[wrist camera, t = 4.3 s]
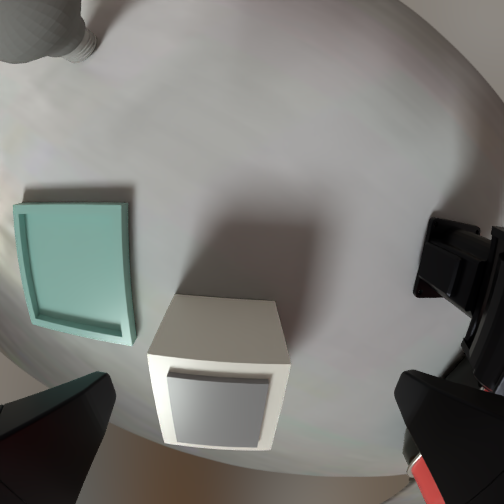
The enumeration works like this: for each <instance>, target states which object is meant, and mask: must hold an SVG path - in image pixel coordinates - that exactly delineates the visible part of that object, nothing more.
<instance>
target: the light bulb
mask: <svg viewBox="0 0 504 504" xmlns="http://www.w3.org/2000/svg"><path fill="white" fill-rule="evenodd" d="M96 41H97V40H96V36H95V35H94V34H92V33H91V32H90V31H89V30H87V28H86V27H85V22H84V20H83V18H82V17H81V0H0V61H3V62H6V63H12V64H19V63H27V62H30V61H33V60H36V59H39V58H42V57H45V56H50V57H63V58H65V59H67V60H69V61H70V62H72V63H79V62H82V61H83V60H85V59H86V58H88V57H89V56H90V54H91V53H92V52H93V50H94V48H95V46H96Z"/></svg>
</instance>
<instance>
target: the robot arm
mask: <svg viewBox="0 0 504 504" xmlns="http://www.w3.org/2000/svg"><path fill="white" fill-rule="evenodd" d="M434 223H435V226H434ZM491 235H492V239H491V240H490V239H487V238H485V237H482V236H480V228H479V227H477V226H473V225H469V224H464V223H460V222H455V221H450V220H445V219H440V218H435V217H433V218H431V219H430V220H429V224H428V229H427V235H426V240H425V245H424V249H423V254H422V258H421V263H420V267H419V271H418V275H417V279H416V282H415V286H414V290H413V294H414V295H415V296H416V297H417V298H440V297H444V298H445V299H447V300H448V301H449V302H451V303H452V304H453V305H454V306H456V307H457V308H458V309H460V310H461V311H462V312H464V313H465V314H466V315H467V316H469V317H470V318H471V322H470V325H469V328H468V331H467V333H466V336H465V338H463V341H462V343H461V346H462V348H463V350H464V352H465V354H466V356H467V358H468V360H469V362H470V364H471V366H472V368H473V374H474V376H475V378H476V379H477V380H478V381H479V383H480V384H481V385H482V387H483V388H485V389H486V390H487V391H489V392H487V391H484V390H480V389H476V388H473V387H469V386H466V385H462V384H459V383H455V382H452V381H449V380H445V379H442V378H439V377H436V376H432V375H429V374H426V373H423V372H420V371H417V370H408V371H404V372H403V373H402V374H401V376H400V378H399V381H398V383H397V385H396V388H395V391H394V396H395V399H396V402H397V404H398V407H399V409H400V411H401V414H402V417H403V419H404V422H405V424H406V426H407V429H408V431H409V433H410V435H411V436H412V438H413V440H414V442H415V444H416V446H417V448H418V450H419V452H420V453H421V455H422V457H423V459H424V461H425V463H426V465H427V467H428V469H429V471H430V473H431V475H432V477H433V479H434V481H435V483H436V485H437V487H438V489H439V491H440V493H441V495H442V498H443V500H444V502H445V504H504V227H498V226H492V231H491ZM419 290H420V291H419ZM418 291H419V292H418ZM115 400H116V392H115V389H114V386H113V384H112V381H111V378H110V375H109V374H108V373H104V372H99V371H96V372H93V373H91V374H88V375H86V376H83V377H80V378H78V379H75V380H73V381H70V382H67V383H64V384H62V385H59V386H56V387H54V388H51V389H48V390H45V391H43V392H39V393H37V394H34V395H31V396H28V397H25V398H22V399H19V400H16V401H13V402H10V403H7V404H5V405H0V504H75V503H76V501H77V498H78V496H79V493H80V491H81V488H82V486H83V483H84V481H85V479H86V476H87V474H88V471H89V469H90V467H91V464H92V462H93V460H94V457H95V455H96V453H97V451H98V448H99V446H100V444H101V442H102V439H103V437H104V435H105V432H106V429H107V425H108V422H109V419H110V416H111V413H112V410H113V406H114V403H115Z"/></svg>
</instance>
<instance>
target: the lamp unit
mask: <svg viewBox="0 0 504 504" xmlns="http://www.w3.org/2000/svg"><path fill="white" fill-rule="evenodd" d="M147 357H148V364H149V370H150V376H151V382H152V388H153V393H154V398H155V403H156V408H157V413H158V418H159V422H160V426H161V431H162V435H163V439H164V443H168V444H175V445H182V446H190V447H200V448H211V449H226V450H271V446H272V442H273V439H274V435H275V431H276V427H277V423H278V419H279V415H280V411H281V407H282V403H283V399H284V395H285V390H286V386H287V381H288V377H289V372H290V368H291V361H290V357H289V353H288V349H287V346H286V342H285V338H284V334H283V330H282V326H281V322H280V318H279V315H278V311H277V307H276V303H275V301H266V300H248V299H232V298H218V297H205V296H192V295H181V294H175V295H174V297H173V299H172V301H171V303H170V305H169V307H168V309H167V311H166V313H165V316H164V318H163V320H162V322H161V324H160V326H159V328H158V331H157V333H156V335H155V337H154V339H153V342H152V344H151V346H150V348H149V350H148V353H147Z"/></svg>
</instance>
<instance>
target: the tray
mask: <svg viewBox="0 0 504 504" xmlns="http://www.w3.org/2000/svg"><path fill="white" fill-rule="evenodd" d="M13 216H14V229H15V239H16V247H17V255H18V262H19V268H20V274H21V279H22V284H23V289H24V294H25V298H26V302H27V306H28V310H29V314H30V318H31V322H32V324H34V325H38V326H41V327H45V328H49V329H52V330H56V331H60V332H64V333H69V334H73V335H77V336H82V337H86V338H91V339H96V340H101V341H106V342H111V343H117V344H122V345H128V346H133V344H134V342H135V340H136V338H137V335H136V328H135V320H134V311H133V301H132V290H131V278H130V261H129V235H128V203H119V202H29V203H19V204H15V205H13Z"/></svg>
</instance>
